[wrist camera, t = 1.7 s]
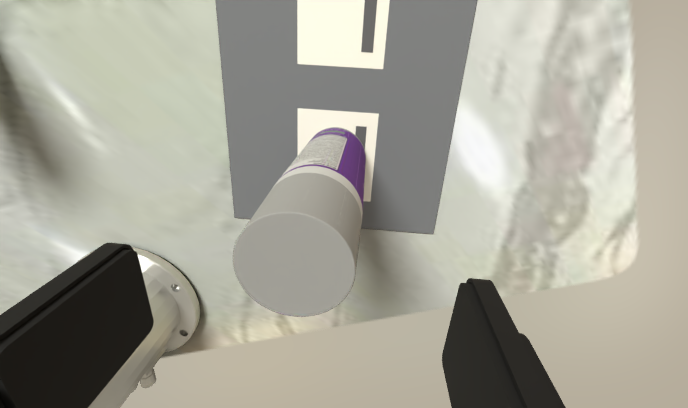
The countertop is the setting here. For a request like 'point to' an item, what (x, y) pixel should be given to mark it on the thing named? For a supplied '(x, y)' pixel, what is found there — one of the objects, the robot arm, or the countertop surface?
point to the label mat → (345, 94)
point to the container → (307, 230)
